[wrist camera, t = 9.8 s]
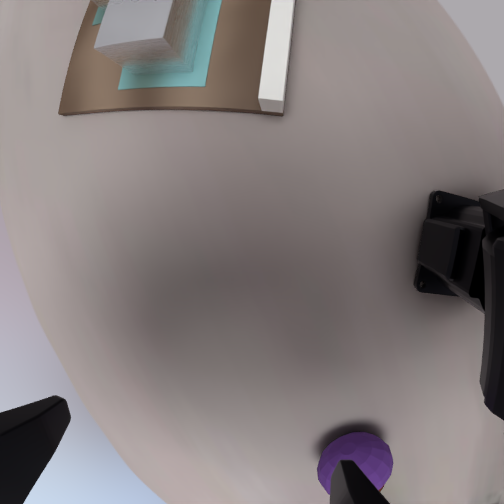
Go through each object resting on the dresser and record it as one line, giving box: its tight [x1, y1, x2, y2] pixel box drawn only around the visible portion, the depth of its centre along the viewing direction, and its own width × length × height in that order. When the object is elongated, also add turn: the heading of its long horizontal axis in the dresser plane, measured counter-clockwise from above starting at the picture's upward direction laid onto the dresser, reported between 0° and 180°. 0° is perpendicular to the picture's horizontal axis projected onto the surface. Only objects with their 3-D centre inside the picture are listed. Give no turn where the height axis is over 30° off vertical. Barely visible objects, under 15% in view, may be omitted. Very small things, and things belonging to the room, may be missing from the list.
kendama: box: [317, 432, 393, 495], centre depth 20 cm, size 6×6×20 cm
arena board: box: [58, 0, 296, 116], centre depth 15 cm, size 16×16×1 cm
